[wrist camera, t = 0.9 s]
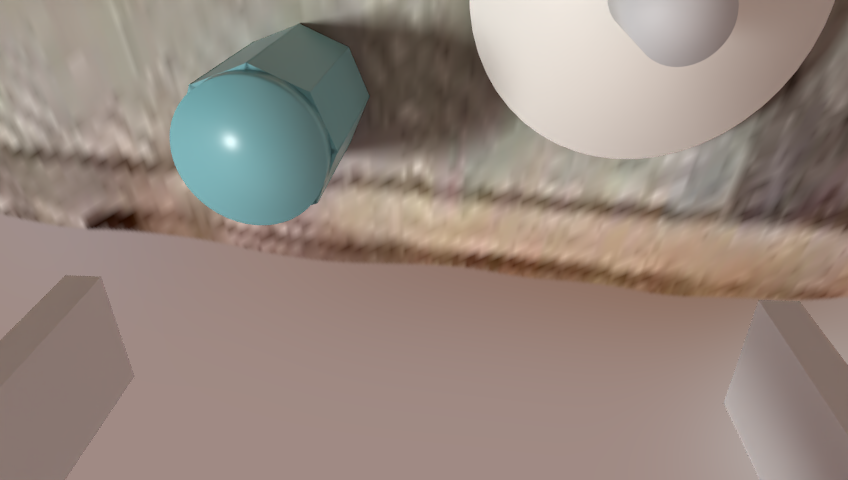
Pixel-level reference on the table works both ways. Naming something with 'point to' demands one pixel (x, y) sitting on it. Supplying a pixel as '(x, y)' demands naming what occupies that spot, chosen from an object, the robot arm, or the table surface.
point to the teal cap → (269, 126)
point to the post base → (641, 66)
